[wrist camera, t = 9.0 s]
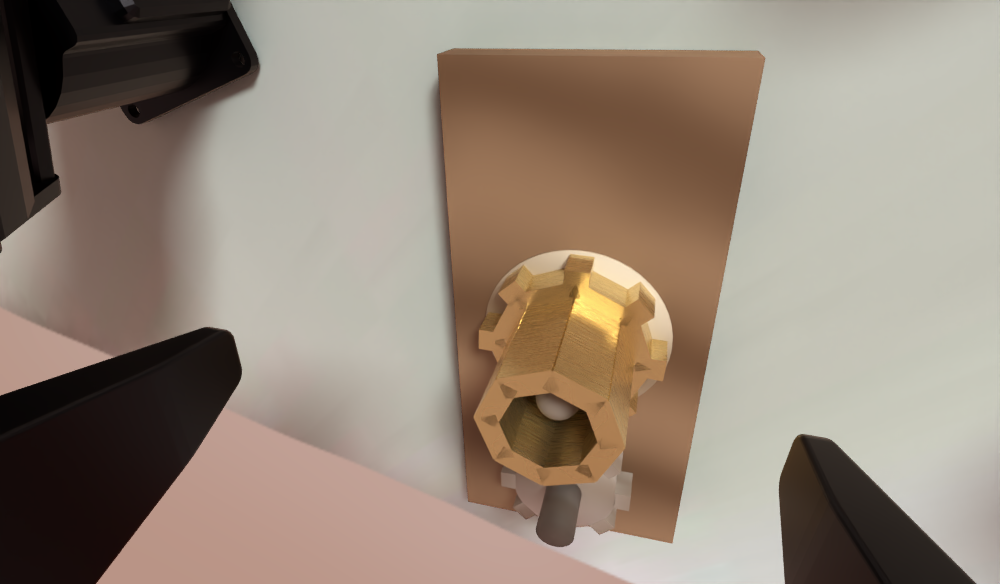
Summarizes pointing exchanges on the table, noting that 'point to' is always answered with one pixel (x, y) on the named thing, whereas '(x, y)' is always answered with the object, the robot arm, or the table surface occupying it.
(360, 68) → the table surface
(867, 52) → the table surface
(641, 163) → the board
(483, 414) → the brass gear
